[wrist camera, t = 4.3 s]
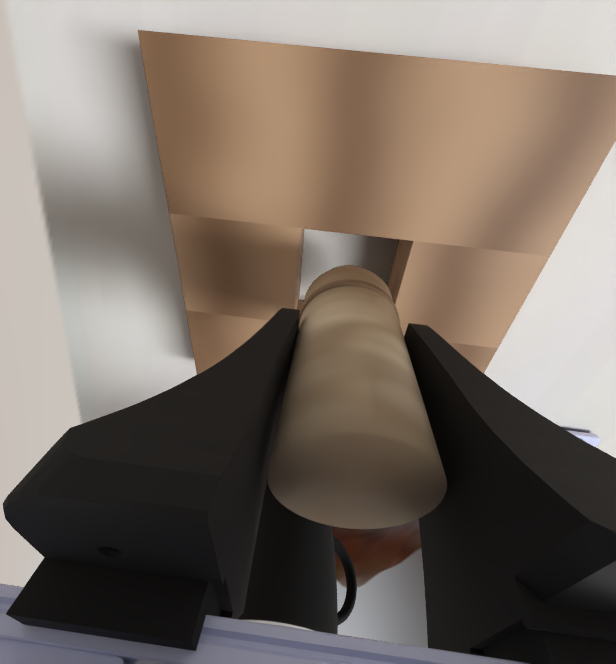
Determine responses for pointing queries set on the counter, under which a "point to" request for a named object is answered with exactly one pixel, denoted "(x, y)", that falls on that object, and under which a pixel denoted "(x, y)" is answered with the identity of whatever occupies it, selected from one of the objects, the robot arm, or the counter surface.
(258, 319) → the board
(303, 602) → the mug
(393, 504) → the peg
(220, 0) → the counter surface
